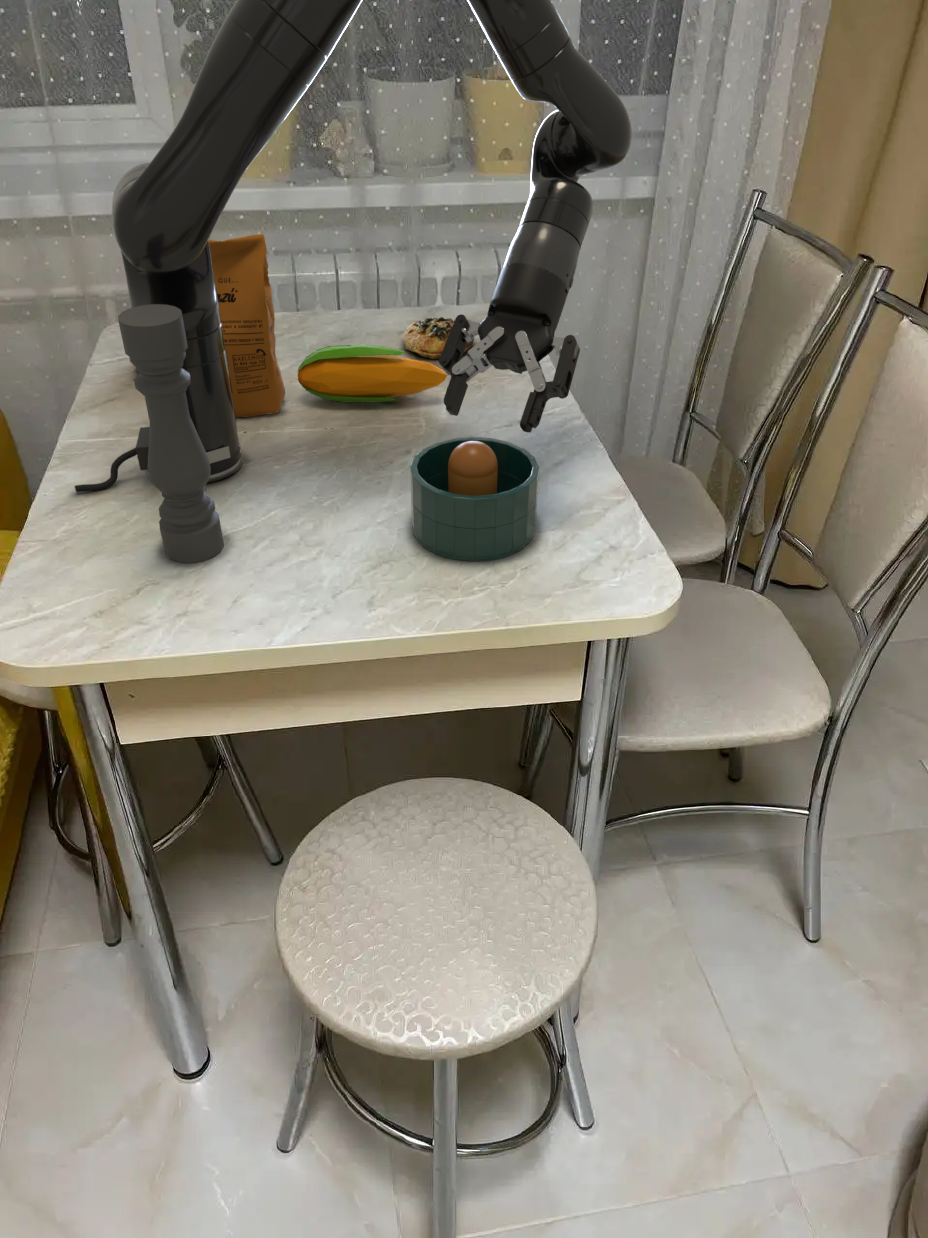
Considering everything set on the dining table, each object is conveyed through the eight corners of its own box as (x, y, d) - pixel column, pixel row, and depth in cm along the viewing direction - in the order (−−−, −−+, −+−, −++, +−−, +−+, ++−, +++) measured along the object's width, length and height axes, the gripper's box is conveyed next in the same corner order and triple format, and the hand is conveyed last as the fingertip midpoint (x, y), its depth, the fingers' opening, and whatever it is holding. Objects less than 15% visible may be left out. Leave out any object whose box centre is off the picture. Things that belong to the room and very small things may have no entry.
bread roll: (488, 339, 149) (485, 308, 146) (449, 373, 143) (445, 342, 139) (428, 327, 154) (424, 297, 151) (388, 360, 148) (382, 329, 144)
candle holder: (199, 524, 107) (157, 298, 92) (236, 544, 104) (199, 313, 89) (152, 548, 103) (100, 316, 88) (189, 569, 100) (142, 332, 85)
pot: (420, 566, 101) (419, 503, 96) (406, 500, 112) (404, 441, 107) (547, 555, 103) (551, 493, 98) (521, 491, 113) (523, 433, 109)
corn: (298, 333, 131) (447, 333, 131) (304, 384, 136) (447, 385, 136) (291, 358, 125) (446, 359, 126) (297, 411, 131) (447, 411, 131)
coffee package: (201, 387, 135) (173, 222, 122) (291, 387, 136) (273, 222, 122) (185, 419, 128) (154, 246, 114) (281, 419, 128) (261, 247, 114)
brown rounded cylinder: (452, 537, 105) (451, 456, 99) (445, 512, 109) (445, 433, 103) (499, 533, 105) (502, 453, 99) (491, 508, 109) (493, 430, 103)
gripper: (464, 250, 103) (415, 394, 101) (592, 271, 98) (542, 421, 96) (485, 286, 110) (438, 420, 108) (605, 306, 105) (558, 447, 103)
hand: (487, 421), depth 102 cm, fingers open, 8 cm apart
